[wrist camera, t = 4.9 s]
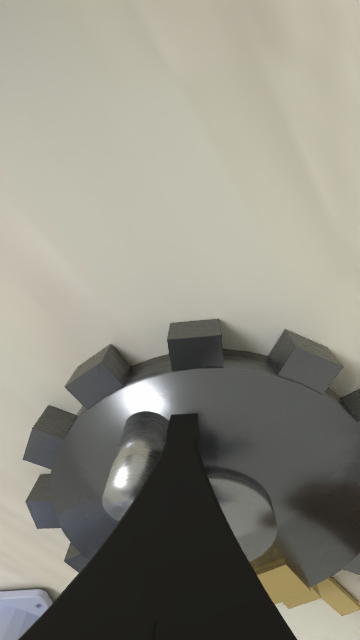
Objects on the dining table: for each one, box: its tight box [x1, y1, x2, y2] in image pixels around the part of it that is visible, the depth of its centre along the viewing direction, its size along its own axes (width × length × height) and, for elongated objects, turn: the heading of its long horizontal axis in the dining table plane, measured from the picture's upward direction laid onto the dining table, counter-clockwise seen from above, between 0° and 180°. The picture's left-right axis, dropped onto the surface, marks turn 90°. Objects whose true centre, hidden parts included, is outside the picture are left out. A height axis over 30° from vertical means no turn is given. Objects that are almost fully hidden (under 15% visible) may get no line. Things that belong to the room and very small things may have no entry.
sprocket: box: [23, 319, 360, 609], centre depth 13 cm, size 16×16×4 cm
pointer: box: [317, 577, 360, 616], centre depth 17 cm, size 4×1×1 cm, turn 41°
